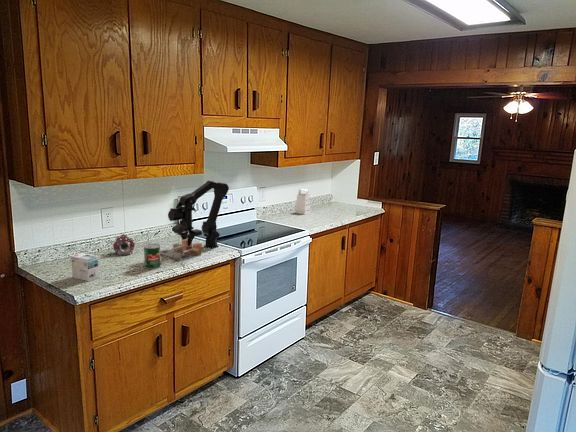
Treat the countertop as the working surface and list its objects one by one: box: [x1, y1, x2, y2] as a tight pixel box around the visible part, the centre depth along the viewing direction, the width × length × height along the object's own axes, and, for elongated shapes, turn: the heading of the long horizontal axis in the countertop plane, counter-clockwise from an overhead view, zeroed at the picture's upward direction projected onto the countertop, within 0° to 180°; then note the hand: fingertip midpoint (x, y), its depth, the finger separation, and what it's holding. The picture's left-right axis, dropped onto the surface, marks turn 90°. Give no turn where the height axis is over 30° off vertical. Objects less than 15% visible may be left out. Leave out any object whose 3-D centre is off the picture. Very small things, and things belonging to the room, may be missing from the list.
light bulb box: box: [70, 252, 101, 282], centre depth 204 cm, size 11×7×11 cm, turn 66°
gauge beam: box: [172, 242, 203, 257], centre depth 247 cm, size 13×20×6 cm, turn 55°
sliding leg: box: [171, 239, 193, 254], centre depth 247 cm, size 13×3×7 cm, turn 145°
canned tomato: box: [143, 243, 162, 270], centre depth 223 cm, size 8×8×11 cm
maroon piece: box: [112, 233, 135, 257], centre depth 244 cm, size 11×11×12 cm
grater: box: [294, 188, 312, 215], centre depth 373 cm, size 10×10×20 cm
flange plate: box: [160, 248, 192, 262], centre depth 242 cm, size 8×20×1 cm, turn 55°
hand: (187, 245), depth 250 cm, fingers closed on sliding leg, 3 cm apart
